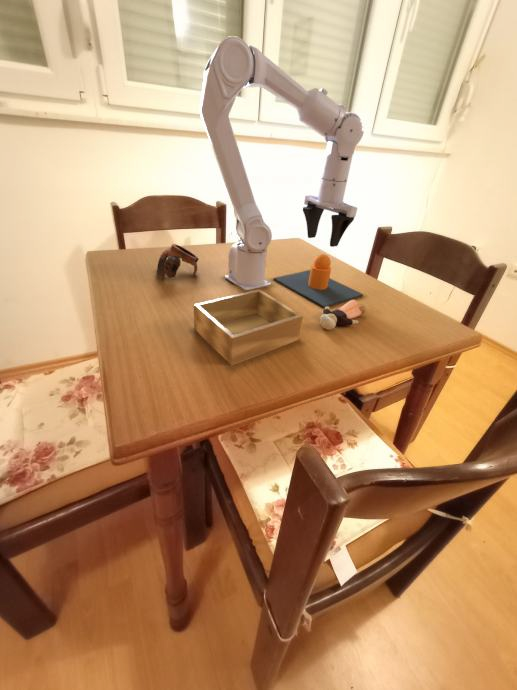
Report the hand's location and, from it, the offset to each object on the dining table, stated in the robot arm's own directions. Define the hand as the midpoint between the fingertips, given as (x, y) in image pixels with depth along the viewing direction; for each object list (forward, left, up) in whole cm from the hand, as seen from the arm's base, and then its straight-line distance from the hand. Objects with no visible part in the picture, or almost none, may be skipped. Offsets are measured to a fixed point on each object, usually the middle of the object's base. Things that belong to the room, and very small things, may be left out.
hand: (322, 241), depth 77 cm
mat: (+3, -3, -10) cm, 11 cm away
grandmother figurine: (+17, -5, -9) cm, 20 cm away
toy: (+3, -3, -10) cm, 11 cm away
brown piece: (-19, -31, -11) cm, 37 cm away
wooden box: (+13, -32, -10) cm, 36 cm away
